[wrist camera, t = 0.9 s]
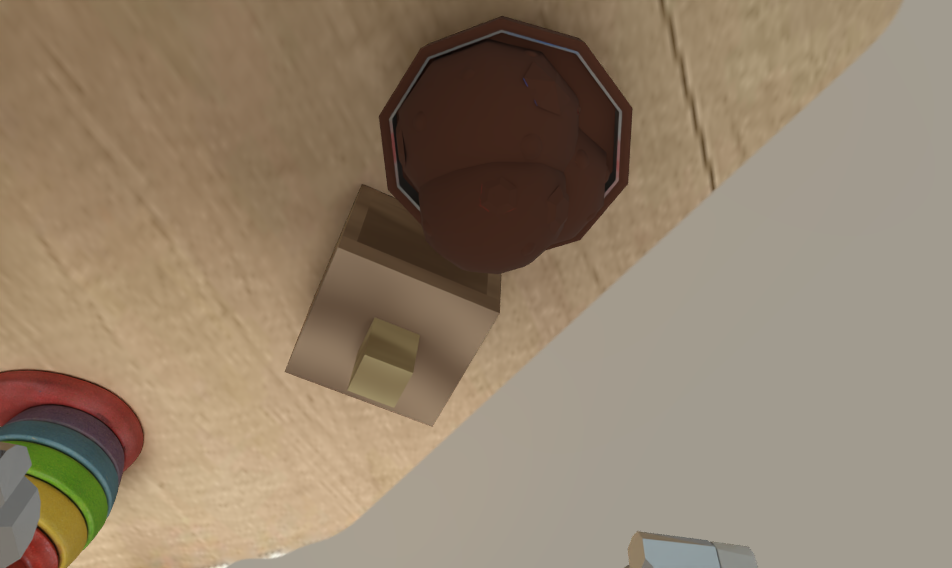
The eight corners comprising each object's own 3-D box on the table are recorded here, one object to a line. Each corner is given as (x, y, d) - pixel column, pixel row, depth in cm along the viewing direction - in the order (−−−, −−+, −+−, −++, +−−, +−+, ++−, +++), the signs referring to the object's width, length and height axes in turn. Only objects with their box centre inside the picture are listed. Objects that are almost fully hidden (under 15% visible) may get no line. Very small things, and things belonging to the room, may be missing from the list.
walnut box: (442, 350, 52) (434, 412, 47) (312, 299, 51) (290, 358, 46) (502, 244, 48) (500, 300, 43) (361, 184, 46) (342, 235, 41)
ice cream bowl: (637, 133, 44) (684, 282, 31) (448, 195, 46) (421, 355, 34) (580, -63, 38) (609, 22, 26) (371, 19, 41) (304, 132, 28)
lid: (434, 412, 47) (426, 467, 44) (290, 358, 46) (269, 410, 42) (500, 300, 43) (498, 351, 39) (342, 235, 41) (324, 281, 37)
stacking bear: (-22, 371, 55) (-223, 595, 40) (114, 360, 54) (-40, 586, 39) (44, 481, 61) (-110, 711, 46) (169, 473, 60) (52, 707, 45)
